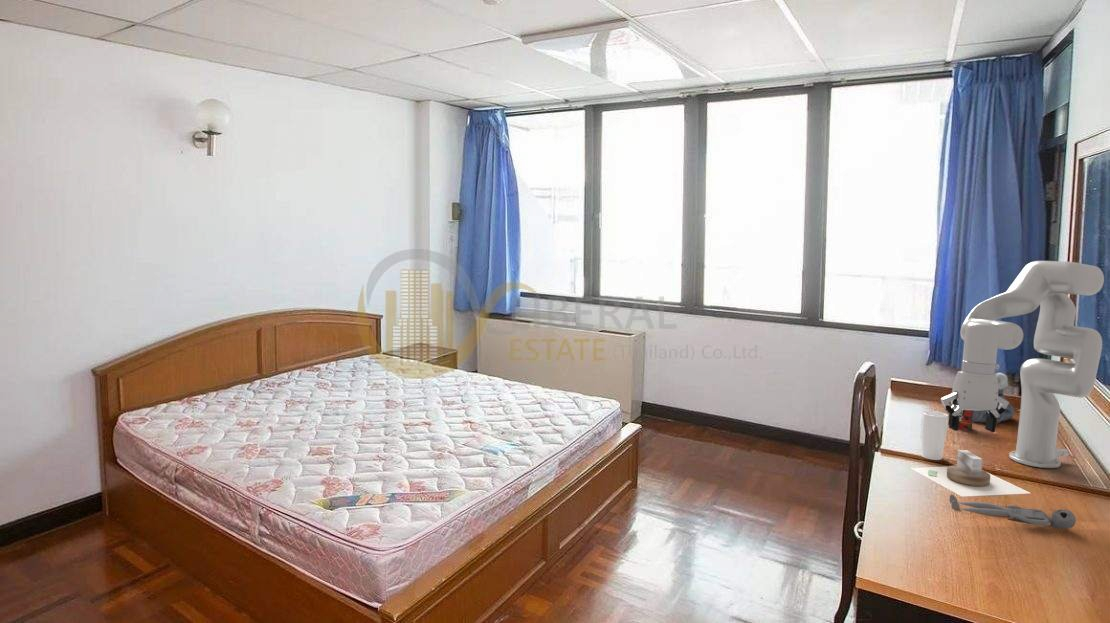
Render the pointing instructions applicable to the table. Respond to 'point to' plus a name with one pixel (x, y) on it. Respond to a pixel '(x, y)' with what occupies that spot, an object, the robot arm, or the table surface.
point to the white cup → (933, 434)
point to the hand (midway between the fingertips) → (971, 430)
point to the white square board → (994, 488)
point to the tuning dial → (968, 470)
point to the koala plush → (1009, 411)
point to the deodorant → (965, 420)
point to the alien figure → (1020, 514)
